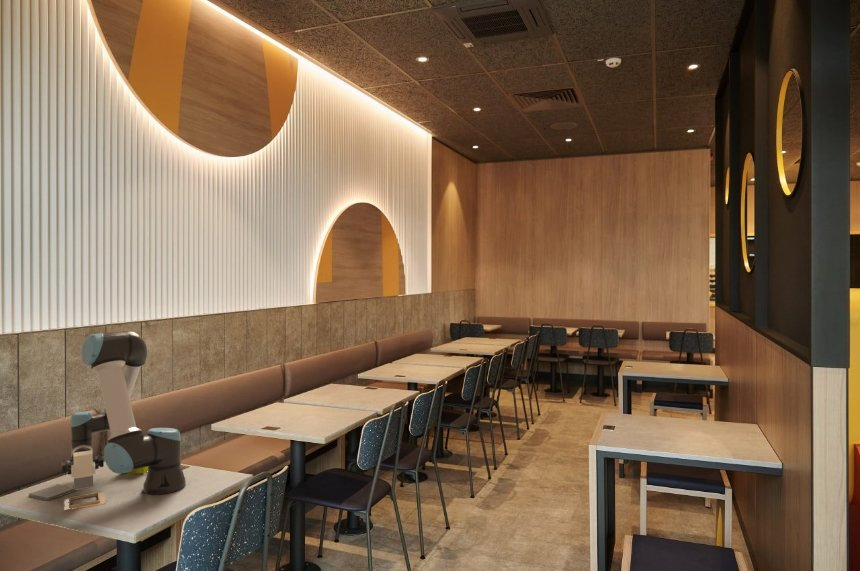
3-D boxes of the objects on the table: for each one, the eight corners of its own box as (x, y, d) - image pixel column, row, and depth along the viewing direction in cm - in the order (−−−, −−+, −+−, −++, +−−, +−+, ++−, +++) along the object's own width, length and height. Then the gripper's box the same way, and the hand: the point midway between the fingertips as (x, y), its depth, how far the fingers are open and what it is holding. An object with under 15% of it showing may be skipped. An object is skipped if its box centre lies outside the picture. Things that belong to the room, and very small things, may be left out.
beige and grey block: (92, 482, 220) (92, 450, 220) (93, 486, 215) (92, 453, 215) (74, 485, 217) (73, 452, 217) (74, 489, 211) (73, 456, 211)
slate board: (76, 490, 227) (76, 488, 227) (48, 500, 217) (48, 497, 217) (57, 486, 231) (57, 484, 231) (29, 496, 221) (28, 493, 221)
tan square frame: (103, 492, 224) (103, 490, 224) (104, 503, 213) (104, 500, 213) (64, 499, 218) (63, 496, 218) (63, 511, 207) (63, 508, 207)
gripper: (110, 461, 236) (113, 477, 216) (54, 470, 226) (52, 487, 206) (109, 443, 236) (113, 456, 216) (53, 451, 226) (51, 466, 206)
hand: (83, 471), depth 211 cm, fingers closed on beige and grey block, 6 cm apart
